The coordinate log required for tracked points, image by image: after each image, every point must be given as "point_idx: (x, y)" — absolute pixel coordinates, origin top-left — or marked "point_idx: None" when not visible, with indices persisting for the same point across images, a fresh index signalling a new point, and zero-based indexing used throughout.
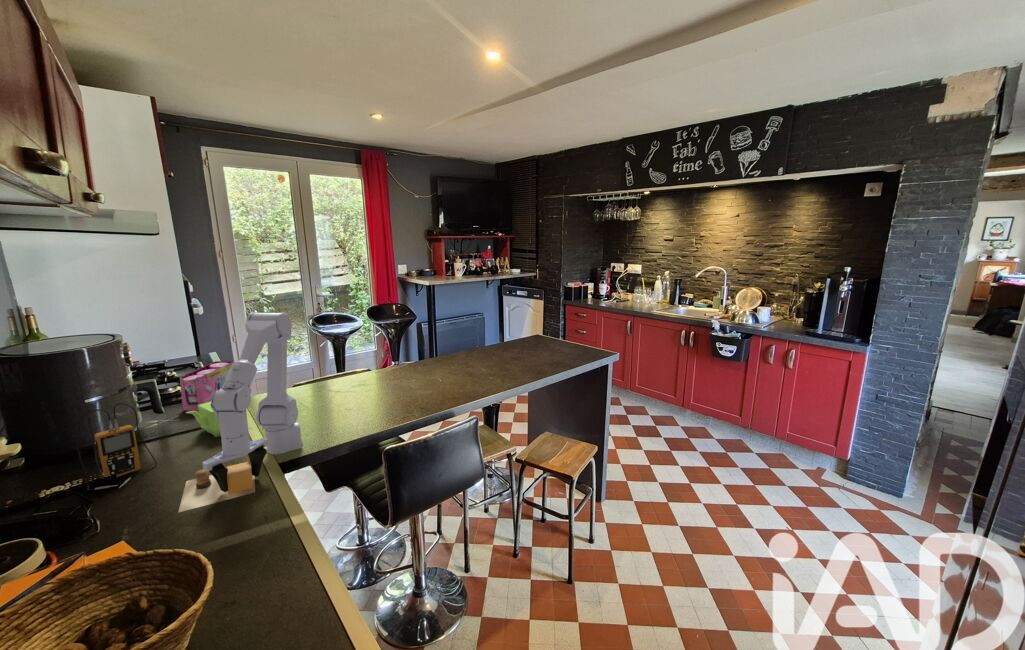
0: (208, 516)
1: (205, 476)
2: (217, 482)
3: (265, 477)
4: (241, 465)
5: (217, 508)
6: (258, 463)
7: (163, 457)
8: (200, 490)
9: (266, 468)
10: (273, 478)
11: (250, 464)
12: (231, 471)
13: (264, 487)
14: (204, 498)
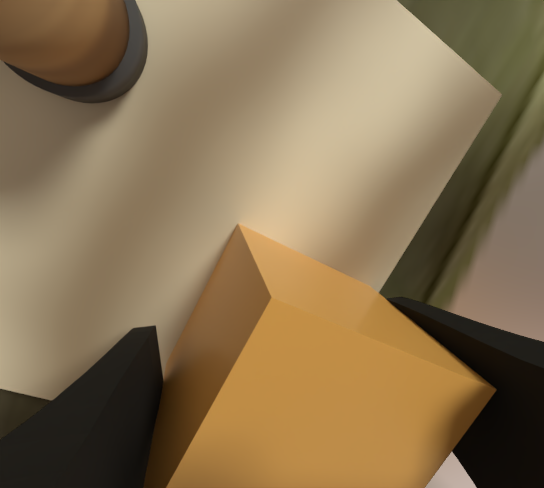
0: (12, 418)
1: (26, 61)
2: (86, 374)
3: (422, 266)
4: (385, 416)
5: None
6: (481, 482)
7: None
8: (24, 103)
9: (500, 159)
10: None
11: (438, 466)
12: (235, 478)
13: None
14: (12, 283)
